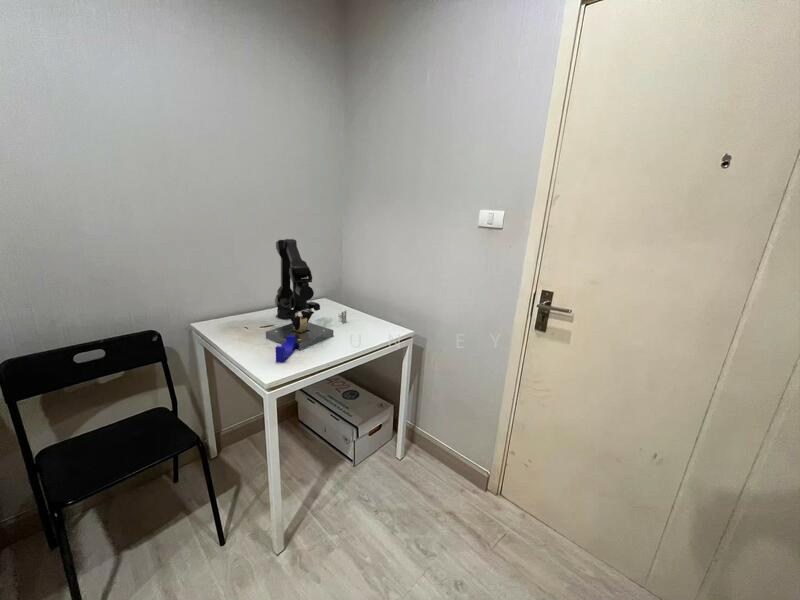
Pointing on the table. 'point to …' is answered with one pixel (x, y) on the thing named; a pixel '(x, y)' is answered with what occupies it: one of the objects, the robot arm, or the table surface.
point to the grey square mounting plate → (300, 335)
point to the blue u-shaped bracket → (285, 349)
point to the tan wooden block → (302, 326)
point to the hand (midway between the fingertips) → (300, 328)
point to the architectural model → (342, 317)
